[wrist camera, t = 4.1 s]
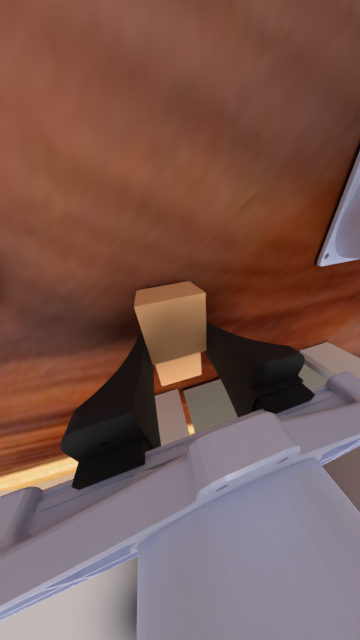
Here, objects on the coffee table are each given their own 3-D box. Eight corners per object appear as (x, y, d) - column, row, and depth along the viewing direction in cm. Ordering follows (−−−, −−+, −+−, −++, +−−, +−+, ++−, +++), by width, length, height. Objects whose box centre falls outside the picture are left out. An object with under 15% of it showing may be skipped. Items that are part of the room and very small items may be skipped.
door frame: (150, 397, 18) (154, 468, 12) (327, 342, 23) (390, 373, 17) (152, 402, 19) (157, 472, 13) (323, 348, 24) (382, 380, 18)
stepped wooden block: (136, 290, 11) (133, 306, 8) (189, 281, 11) (205, 292, 8) (159, 371, 16) (163, 400, 13) (195, 361, 16) (207, 386, 13)
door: (183, 389, 19) (198, 442, 14) (299, 353, 22) (346, 384, 17) (184, 397, 20) (199, 449, 15) (295, 361, 23) (338, 393, 18)
